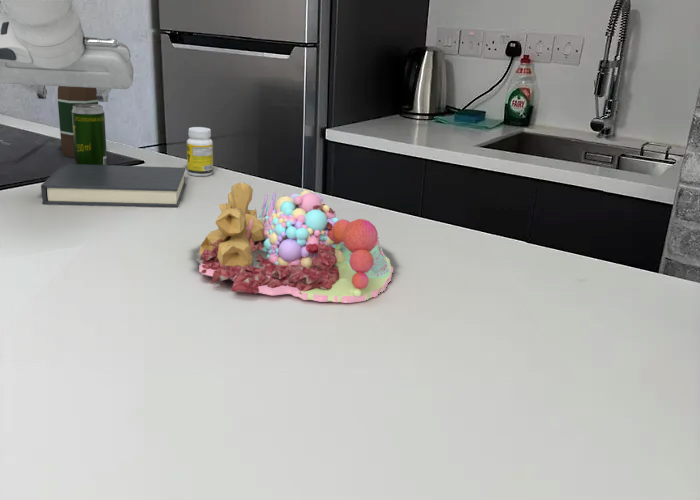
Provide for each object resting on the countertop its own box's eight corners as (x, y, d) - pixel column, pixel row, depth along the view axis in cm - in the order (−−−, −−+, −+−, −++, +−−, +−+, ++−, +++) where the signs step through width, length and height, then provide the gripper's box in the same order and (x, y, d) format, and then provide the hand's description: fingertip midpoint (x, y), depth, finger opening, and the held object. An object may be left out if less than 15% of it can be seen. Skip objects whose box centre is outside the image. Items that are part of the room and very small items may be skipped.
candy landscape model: (178, 297, 76) (176, 218, 72) (211, 230, 98) (211, 167, 95) (401, 308, 77) (409, 230, 74) (384, 239, 99) (390, 177, 96)
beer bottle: (54, 151, 136) (44, 25, 128) (93, 148, 141) (85, 27, 133) (69, 159, 131) (59, 29, 123) (109, 156, 136) (102, 30, 128)
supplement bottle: (188, 170, 130) (188, 125, 127) (214, 171, 130) (213, 127, 127) (185, 176, 125) (184, 130, 122) (211, 177, 126) (211, 131, 123)
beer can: (108, 169, 126) (105, 103, 122) (106, 176, 121) (102, 108, 117) (77, 169, 125) (73, 102, 121) (74, 176, 120) (69, 107, 116)
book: (42, 204, 104) (40, 185, 103) (65, 180, 117) (64, 163, 116) (177, 207, 107) (177, 188, 106) (185, 184, 120) (185, 167, 119)
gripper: (129, 24, 99) (141, 84, 112) (-22, 14, 96) (9, 77, 109) (125, 58, 97) (138, 116, 109) (-30, 49, 94) (2, 110, 106)
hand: (72, 97), depth 109 cm, fingers open, 8 cm apart
